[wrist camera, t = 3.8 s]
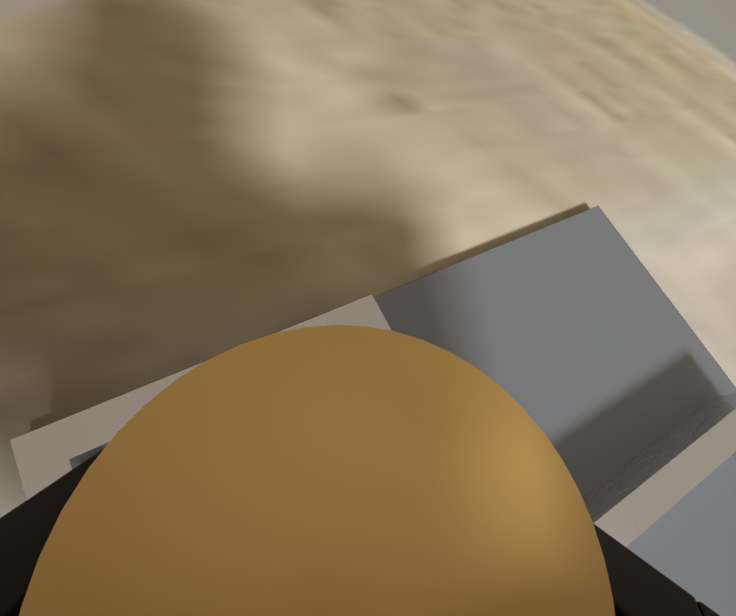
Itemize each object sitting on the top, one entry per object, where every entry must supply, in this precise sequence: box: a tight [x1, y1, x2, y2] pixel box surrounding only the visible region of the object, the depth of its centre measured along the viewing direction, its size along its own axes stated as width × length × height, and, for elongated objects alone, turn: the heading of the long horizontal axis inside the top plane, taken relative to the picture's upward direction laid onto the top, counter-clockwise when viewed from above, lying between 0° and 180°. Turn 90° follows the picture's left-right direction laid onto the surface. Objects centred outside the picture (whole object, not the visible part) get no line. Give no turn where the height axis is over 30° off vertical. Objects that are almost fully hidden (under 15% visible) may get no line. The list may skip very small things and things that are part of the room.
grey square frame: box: [10, 294, 392, 501], centre depth 12 cm, size 10×10×2 cm
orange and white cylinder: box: [19, 325, 615, 616], centre depth 8 cm, size 5×5×10 cm
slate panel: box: [374, 206, 736, 616], centre depth 14 cm, size 21×24×1 cm
